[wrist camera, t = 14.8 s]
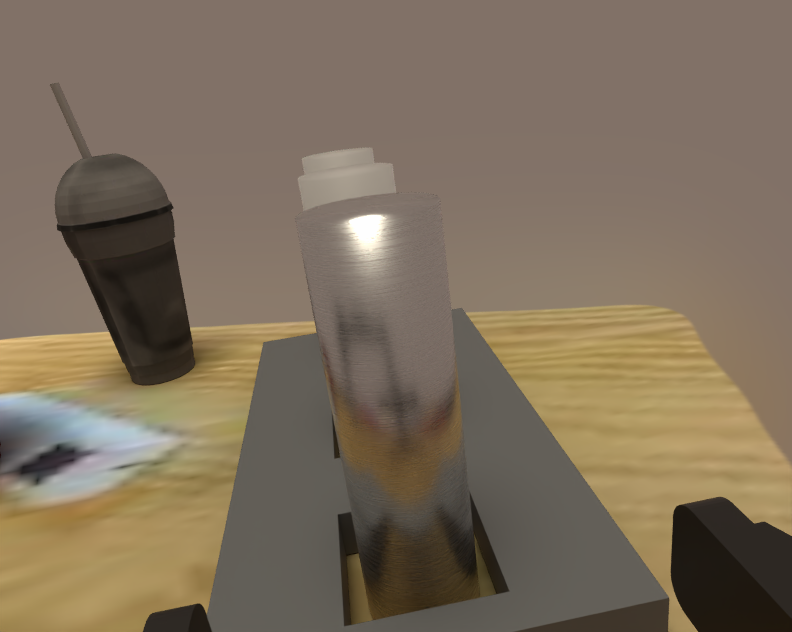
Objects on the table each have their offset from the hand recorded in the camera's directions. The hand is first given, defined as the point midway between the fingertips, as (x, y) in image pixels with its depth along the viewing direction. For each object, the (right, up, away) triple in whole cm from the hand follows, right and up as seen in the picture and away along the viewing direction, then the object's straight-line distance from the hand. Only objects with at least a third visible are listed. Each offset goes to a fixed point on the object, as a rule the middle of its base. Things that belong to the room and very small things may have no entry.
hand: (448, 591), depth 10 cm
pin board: (-1, -2, +20) cm, 20 cm away
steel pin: (0, -5, +11) cm, 13 cm away
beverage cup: (-18, 0, +34) cm, 38 cm away
